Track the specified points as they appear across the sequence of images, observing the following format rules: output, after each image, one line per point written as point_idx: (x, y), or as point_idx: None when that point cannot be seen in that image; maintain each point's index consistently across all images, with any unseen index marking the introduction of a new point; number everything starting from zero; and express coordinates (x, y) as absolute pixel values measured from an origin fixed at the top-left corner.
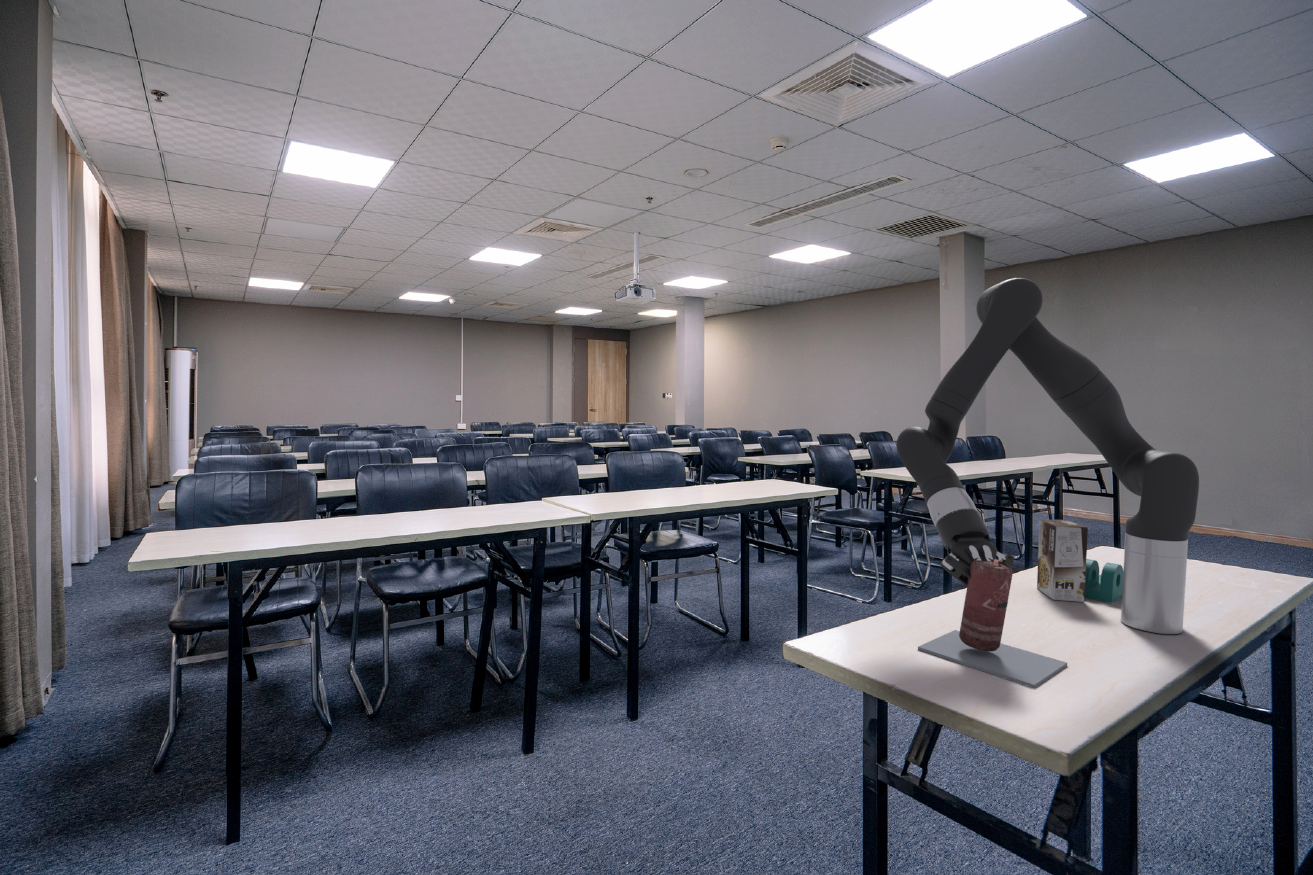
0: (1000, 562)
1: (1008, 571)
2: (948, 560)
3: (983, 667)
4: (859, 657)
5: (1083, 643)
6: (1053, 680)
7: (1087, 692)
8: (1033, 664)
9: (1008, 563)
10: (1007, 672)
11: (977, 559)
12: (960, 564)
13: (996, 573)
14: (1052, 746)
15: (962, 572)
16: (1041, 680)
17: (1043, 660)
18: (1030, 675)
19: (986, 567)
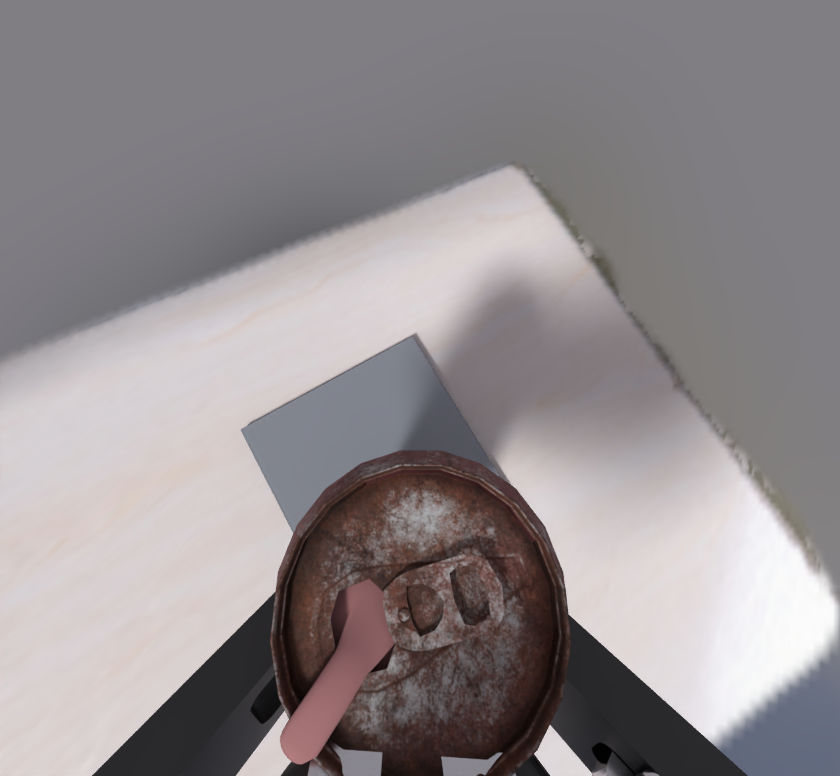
0: (286, 692)
1: (373, 468)
2: (742, 772)
3: (464, 426)
4: (706, 527)
5: (45, 571)
6: (343, 365)
7: (319, 310)
8: (334, 429)
9: (154, 756)
10: (427, 396)
11: (479, 773)
12: (623, 716)
13: (468, 462)
14: (521, 179)
15: (589, 640)
16: (381, 353)
17: (290, 448)
18: (387, 376)
19: (525, 516)
